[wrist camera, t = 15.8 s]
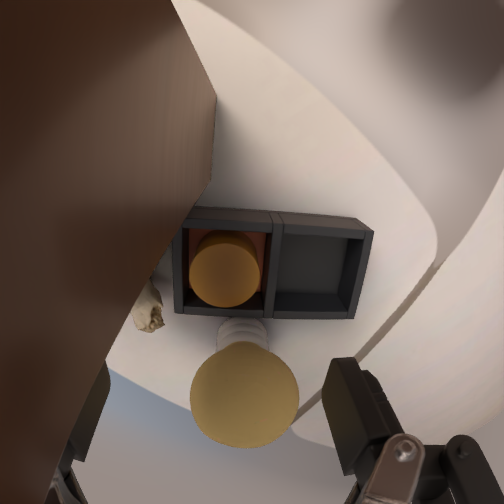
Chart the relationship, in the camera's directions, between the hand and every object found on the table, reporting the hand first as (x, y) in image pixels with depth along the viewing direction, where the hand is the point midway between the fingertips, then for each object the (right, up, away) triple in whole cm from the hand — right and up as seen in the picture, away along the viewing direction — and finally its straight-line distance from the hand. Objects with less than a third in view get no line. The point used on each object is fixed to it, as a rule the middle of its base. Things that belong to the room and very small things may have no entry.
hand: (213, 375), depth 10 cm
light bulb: (+1, -2, +13) cm, 14 cm away
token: (0, +4, +10) cm, 11 cm away
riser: (-4, +11, +8) cm, 14 cm away
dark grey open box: (+2, +4, +11) cm, 12 cm away
